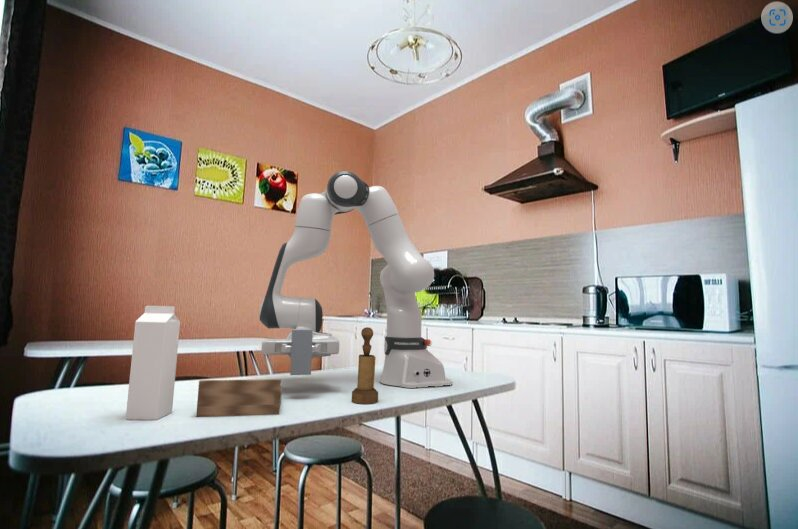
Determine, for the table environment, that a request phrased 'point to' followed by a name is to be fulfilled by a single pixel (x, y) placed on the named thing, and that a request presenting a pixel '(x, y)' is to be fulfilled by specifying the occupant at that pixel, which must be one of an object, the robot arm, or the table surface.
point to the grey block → (301, 352)
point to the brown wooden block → (238, 397)
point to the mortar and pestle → (365, 373)
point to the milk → (153, 364)
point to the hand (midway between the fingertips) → (301, 349)
